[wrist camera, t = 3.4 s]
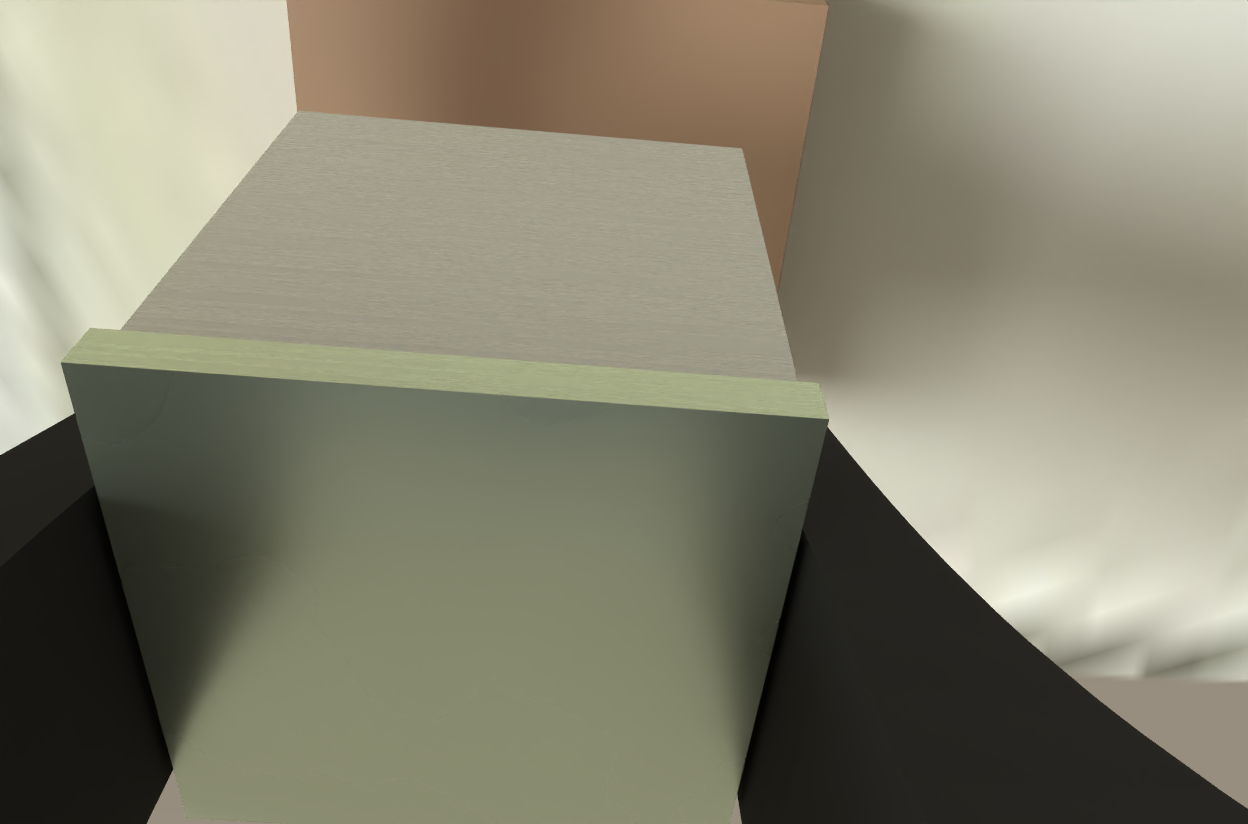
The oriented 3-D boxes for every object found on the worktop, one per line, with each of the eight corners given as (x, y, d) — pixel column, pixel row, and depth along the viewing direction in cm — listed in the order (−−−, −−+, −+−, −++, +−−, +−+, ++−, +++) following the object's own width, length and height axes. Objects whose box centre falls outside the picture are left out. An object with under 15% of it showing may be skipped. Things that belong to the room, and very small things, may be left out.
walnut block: (803, -29, 15) (828, 5, 13) (737, 371, 19) (749, 448, 17) (333, -71, 15) (282, -42, 13) (362, 343, 19) (327, 417, 17)
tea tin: (753, 139, 10) (830, 418, 6) (695, 494, 13) (724, 848, 9) (287, 99, 10) (59, 361, 6) (326, 468, 13) (187, 817, 9)
